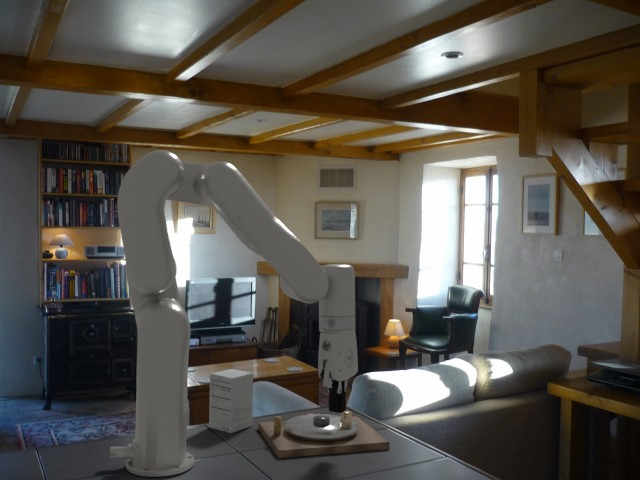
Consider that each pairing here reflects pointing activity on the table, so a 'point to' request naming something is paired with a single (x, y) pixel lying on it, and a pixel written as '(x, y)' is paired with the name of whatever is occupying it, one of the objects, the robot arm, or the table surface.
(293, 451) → the base board
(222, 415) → the supplement box
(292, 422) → the flange plate
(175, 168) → the robot arm
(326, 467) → the table surface
